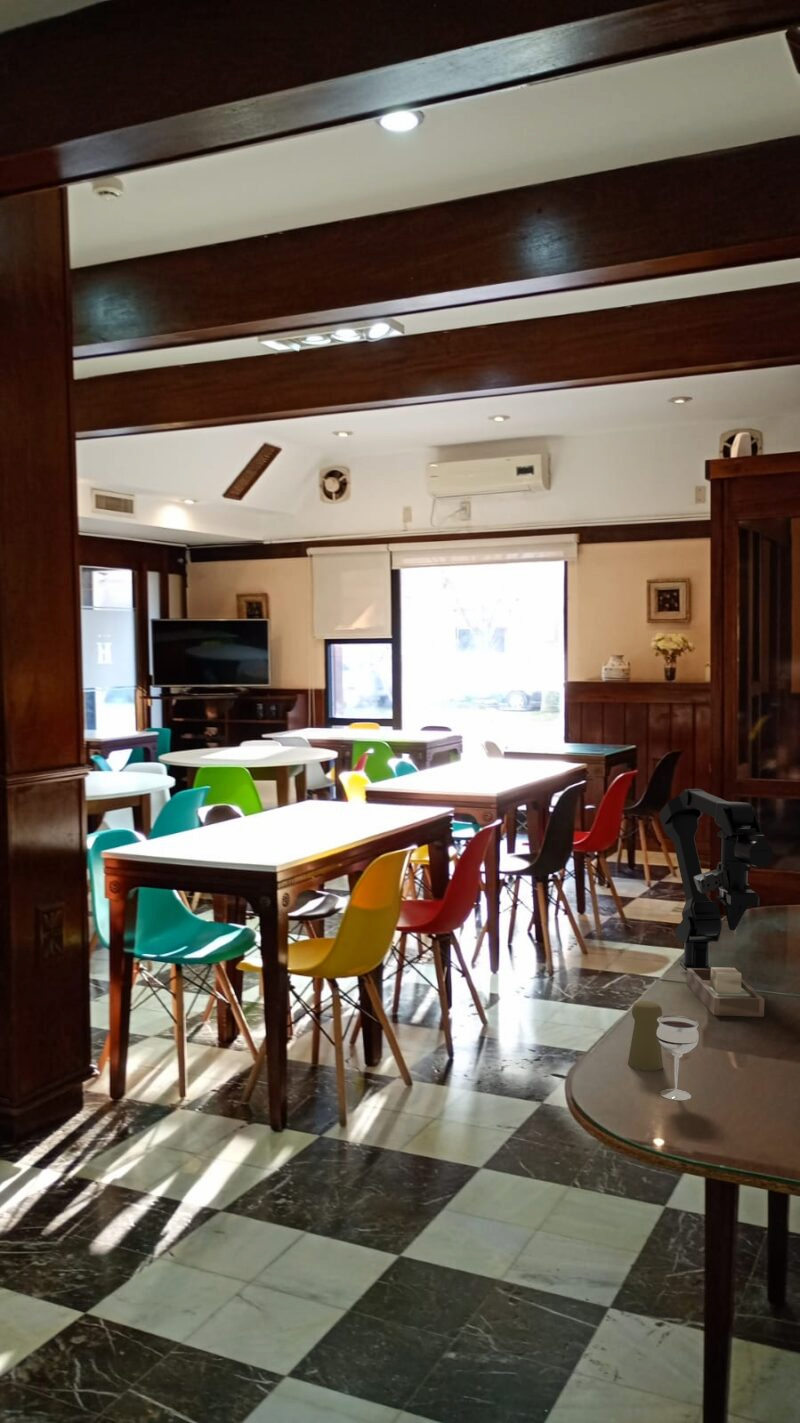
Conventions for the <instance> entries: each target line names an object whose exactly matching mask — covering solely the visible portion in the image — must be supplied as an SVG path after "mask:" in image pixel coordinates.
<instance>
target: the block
mask: <svg viewBox="0 0 800 1423" xmlns="http://www.w3.org/2000/svg"><path fill="white" fill-rule="evenodd" d="M742 976H743V975H742V973H741V972H740V971H739V970H738V969H736V967H718V966H717V967H715V966H712V967H711V979H710V986H711V987H712V988H713V989H714V990H715V991H716V992H717V993H741V978H742Z"/></svg>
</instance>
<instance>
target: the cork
mask: <svg viewBox="0 0 800 1423" xmlns="http://www.w3.org/2000/svg"><path fill="white" fill-rule="evenodd" d="M662 1008H663V1007H662V1006H661V1005H660V1004H659V1003H657V1002H655V1001H650V1000H639V1001H637V1002H635V1003H634V1004H633V1005H632V1009H631V1016H632V1018H633V1019H634V1025H633V1030H632V1036H631V1037H632V1038H631V1040H630V1042H631V1043H630V1048H629V1054H628V1059H627V1065H628V1066H629V1067H631V1068H633V1069H635V1070H640V1071H649V1072H653V1071H659V1070H661V1069H663V1068H664V1064H663V1053H662V1046H661V1044H660V1043H659V1042H658V1039H657V1036H656V1034H657V1033H656V1030H657V1027H658V1026H659V1023H658V1021H657V1019H658V1018H659V1017H662V1016H663V1009H662Z"/></svg>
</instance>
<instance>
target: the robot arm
mask: <svg viewBox="0 0 800 1423" xmlns="http://www.w3.org/2000/svg"><path fill="white" fill-rule="evenodd" d="M703 814H705V815H708V816H710V817H712V818H714V823H715V824H716V825H717V826H718V827H720V828H721V830H719V831H718V832H717V837H719V838H721V853H720V854H721V855H720V858H721V859H720V861H718V863H717V864H716V869H713V870H708V871H705V872H703V870H702V866H701V862H700V858H699V853H698V850H697V849H698V848H697V844H696V840H695V837H696V834H697V832H698V829H699V820H700V818H701V817H702V816H703ZM659 821H660V823H661V825H662V828H663V831H664V833H665V835H666V836H667V837H668V838H669V839H670V840H671V841H672V843H673V846H674V851H675V855H676V860H677V863H678V864H677V865H678V869H679V874H680V879H681V882H682V886H683V887H682V888H683V892H684V896H685V904H684V906H683V908H682V912H681V916H682V920H681V921H680V923H679V924H678V926H677V927H676V928H675V938H676V940H678V941H680V942H682V943H684V946H683V951H684V952H683V960H682V959H681V960H679V964H680V965H681V966H682V967H683V968H684V969H685V970H687V968H702V969H711V967H713V966H712V965H711V963H710V944H711V942H713V943H714V942H716V943H718V942H719V939H720V936H721V933H722V928H723V922H722V921H723V920H722V915H721V913H720V906H719V903H718V902H717V900H713V901H712V900H711V899H710V898H709V896H708V894H707V893H709V892H710V891H711V892H715V890H719V894H716V895H715V897H716V899H718V900H719V901H720V902H721V904H722V905H723V907H724V911H725V916H726V920H727V925H728V929H729V931H736V929H737V927H738V925H739V924H740V921H741V920H742V918H743V916H744V914H745V912H746V911H747V909H748V908H749V906H750V907H759V906H761V905H760V902H761V901H760V899H761V897H760V896H759V895H758V893H757V892H755V891H753V890H752V889H751V885H750V884H749V883H748V876H749V875H748V872H751V868H752V866H753V867H757V868H766V867H767V866H769V864H770V863H771V862H772V860H773V857H774V851H773V849H772V848H773V847H772V846H771V844H769V842H767V841H766V835H764V833H763V831H762V829H763V828H762V825H761V823H760V822H759V819H758V816H757V814H756V811H755V809H754V807H753V805H752V804H751V803H750V802H741V801H727V800H725V799H723V798H720V797H718V796H715V795H713V794H710V793H709V792H706V791H705V790H704V789H701V788H686V789H683V790H682V791H681V792H680V794H678V795H677V796H676V797H674V798H672V799H670V800H668V801H667V802H666V804H665V805H664V806H663V807H662V808H661V811H660V812H659Z"/></svg>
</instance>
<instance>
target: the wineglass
mask: <svg viewBox="0 0 800 1423" xmlns="http://www.w3.org/2000/svg"><path fill="white" fill-rule="evenodd" d="M657 1021H658V1023H659V1026H658V1027H657V1030H656V1033H657V1034H656V1036H657V1039H658V1042H659V1043H660V1044H661V1048H663V1049H664V1050H665V1051H667V1052H669V1053H670V1054H671V1055H672V1056H673V1058H674V1065H673V1068H674V1069H673V1070H674V1071H673V1072H674V1073H673V1074H674V1082H673V1083H674V1085H673V1086H674V1088H666V1089H663V1090H660V1092H659V1095H660V1096H662V1097H663V1098H665V1099H668V1100H672V1101H688V1100H690V1099H691V1098H692V1095H691V1093H689V1092H687V1091H685V1090H681V1089H678V1081H679V1080H678V1078H679V1077H678V1076H679V1065H680V1058H681V1057H682V1056H683V1054H687V1053H690V1052H691V1051H693V1049H694V1048H695V1047H697V1045H698V1042H699V1039H700V1034H699V1030H698V1027H699V1025H700V1024H699V1021H698V1020H696V1019H694V1018H691V1017H687V1016H683V1015H662V1017H659V1018H658V1019H657Z"/></svg>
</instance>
